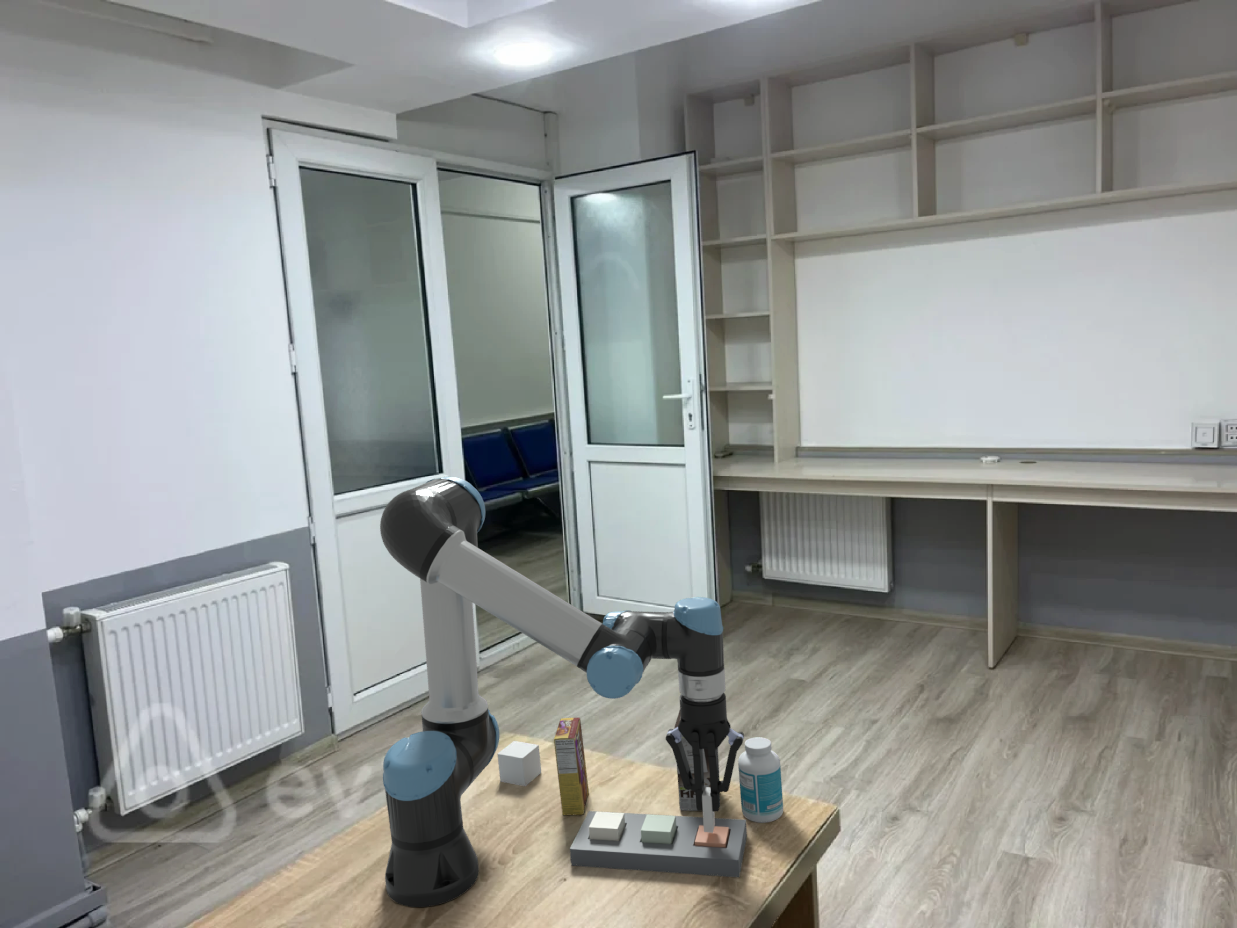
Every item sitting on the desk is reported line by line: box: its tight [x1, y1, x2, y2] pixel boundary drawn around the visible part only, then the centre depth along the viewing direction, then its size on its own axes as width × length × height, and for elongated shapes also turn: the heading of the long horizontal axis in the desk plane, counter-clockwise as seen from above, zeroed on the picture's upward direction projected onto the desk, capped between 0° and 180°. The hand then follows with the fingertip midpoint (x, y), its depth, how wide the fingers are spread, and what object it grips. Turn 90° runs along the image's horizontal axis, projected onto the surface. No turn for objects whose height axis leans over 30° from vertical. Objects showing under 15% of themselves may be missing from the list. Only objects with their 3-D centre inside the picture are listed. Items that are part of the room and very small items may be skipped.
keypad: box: [569, 810, 748, 878], centre depth 155 cm, size 28×12×3 cm, turn 76°
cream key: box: [589, 811, 625, 841], centre depth 157 cm, size 5×5×3 cm
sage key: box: [641, 813, 677, 844], centre depth 155 cm, size 5×5×3 cm
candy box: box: [553, 717, 590, 816], centre depth 172 cm, size 9×4×15 cm, turn 175°
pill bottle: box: [737, 736, 784, 824], centre depth 164 cm, size 8×7×14 cm
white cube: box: [497, 740, 542, 787], centre depth 185 cm, size 6×6×6 cm
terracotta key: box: [695, 825, 729, 848], centre depth 153 cm, size 5×5×3 cm
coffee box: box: [673, 709, 710, 812], centre depth 170 cm, size 9×6×16 cm
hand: (709, 827), depth 153 cm, fingers closed
